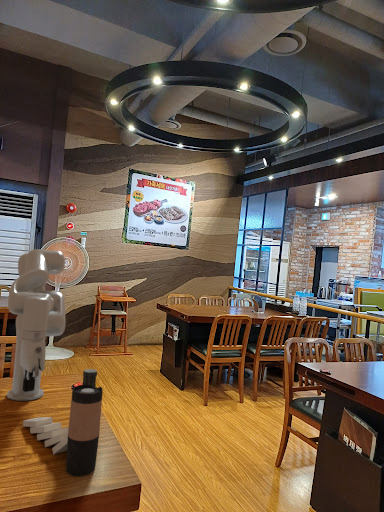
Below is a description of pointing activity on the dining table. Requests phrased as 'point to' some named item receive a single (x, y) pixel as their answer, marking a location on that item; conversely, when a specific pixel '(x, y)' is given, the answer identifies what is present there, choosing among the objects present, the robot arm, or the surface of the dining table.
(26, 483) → the dining table surface
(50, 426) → the domino
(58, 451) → the domino
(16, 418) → the dining table surface
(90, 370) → the sauce bottle
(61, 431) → the domino
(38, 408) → the dining table surface
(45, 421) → the domino
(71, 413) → the travel mug
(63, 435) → the domino
